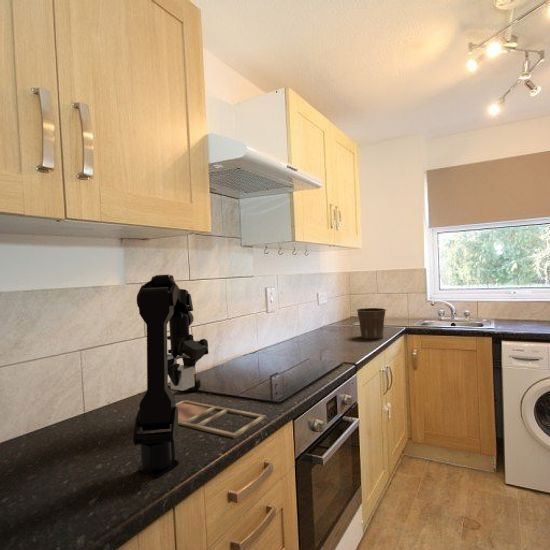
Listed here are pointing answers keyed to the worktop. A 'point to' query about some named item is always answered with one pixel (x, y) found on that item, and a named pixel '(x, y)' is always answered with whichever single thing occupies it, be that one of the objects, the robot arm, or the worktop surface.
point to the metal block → (184, 378)
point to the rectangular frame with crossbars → (195, 410)
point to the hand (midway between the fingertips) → (182, 383)
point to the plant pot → (371, 322)
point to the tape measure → (197, 385)
